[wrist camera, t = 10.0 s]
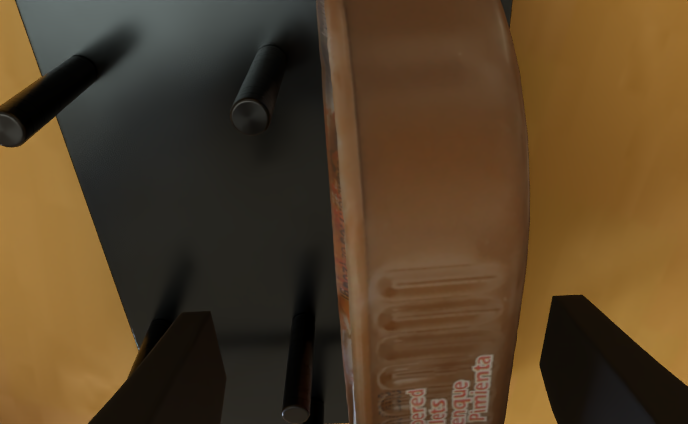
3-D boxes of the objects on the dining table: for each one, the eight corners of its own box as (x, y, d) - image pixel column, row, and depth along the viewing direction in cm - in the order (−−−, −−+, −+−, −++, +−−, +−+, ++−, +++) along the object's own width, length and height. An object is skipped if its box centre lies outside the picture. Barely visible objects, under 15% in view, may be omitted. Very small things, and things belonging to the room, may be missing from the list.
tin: (309, -84, 12) (265, -17, 5) (451, -91, 12) (607, -35, 5) (343, 378, 20) (344, 656, 13) (428, 375, 20) (476, 653, 13)
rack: (172, 409, 23) (134, 532, 18) (-27, -187, 12) (-223, -217, 8) (464, 398, 22) (492, 521, 18) (523, -223, 12) (624, -273, 8)
